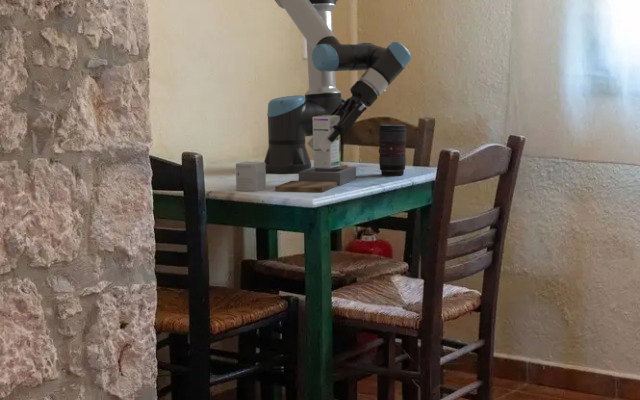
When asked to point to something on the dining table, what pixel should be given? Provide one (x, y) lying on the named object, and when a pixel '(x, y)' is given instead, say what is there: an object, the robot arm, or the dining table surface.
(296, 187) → the walnut board
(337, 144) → the syrup box
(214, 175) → the dining table surface
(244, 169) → the product box
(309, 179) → the grey frame with knob
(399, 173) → the camera lens
